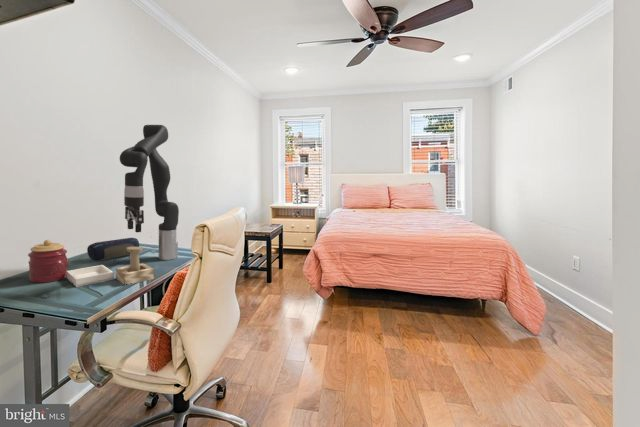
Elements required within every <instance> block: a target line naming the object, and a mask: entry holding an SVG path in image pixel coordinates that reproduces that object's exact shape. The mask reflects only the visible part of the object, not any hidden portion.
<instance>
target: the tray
mask: <svg viewBox="0 0 640 427" xmlns="http://www.w3.org/2000/svg"><path fill="white" fill-rule="evenodd" d="M66 274H67V277H66V279H67V280H68V281H69V282H70V283H71V284H72V283H73V284H72V285H73V286H74V287H75V286H76V288H79V287H80V288H81V287H84V285H85V286H89V285H93V284H94V285H95V284H98V283H102V282H109V281H113V280H114V279H115V273H114V271H112V270H111V269H110V268H108V267H107V266H105V265H104V264H100V265H94V266H89V267H88V266H87V267H81V268H76V269H71V270H68V271H66ZM88 284H89V285H88Z"/></svg>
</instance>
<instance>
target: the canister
mask: <svg viewBox="0 0 640 427" xmlns="http://www.w3.org/2000/svg"><path fill="white" fill-rule="evenodd" d="M64 248H65V245H64V244H61V243H59V242H52V240H50V239H46V240H44V241H43V243H38V244H36V245H34V246H33V247H30V249H29V250H30V251H31V252H29V253H27V256H28V257H29V260H28V269H29V274H28V277H29V278H28V279H29V281H30V282H32V283H39V284H43V283H52V282H57V281H60V280H63V279H65V278H67V274H66V271H69V270H68V268H67V260H68V257H67V255H66V254H67V252H68V250H66V249H64Z"/></svg>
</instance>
